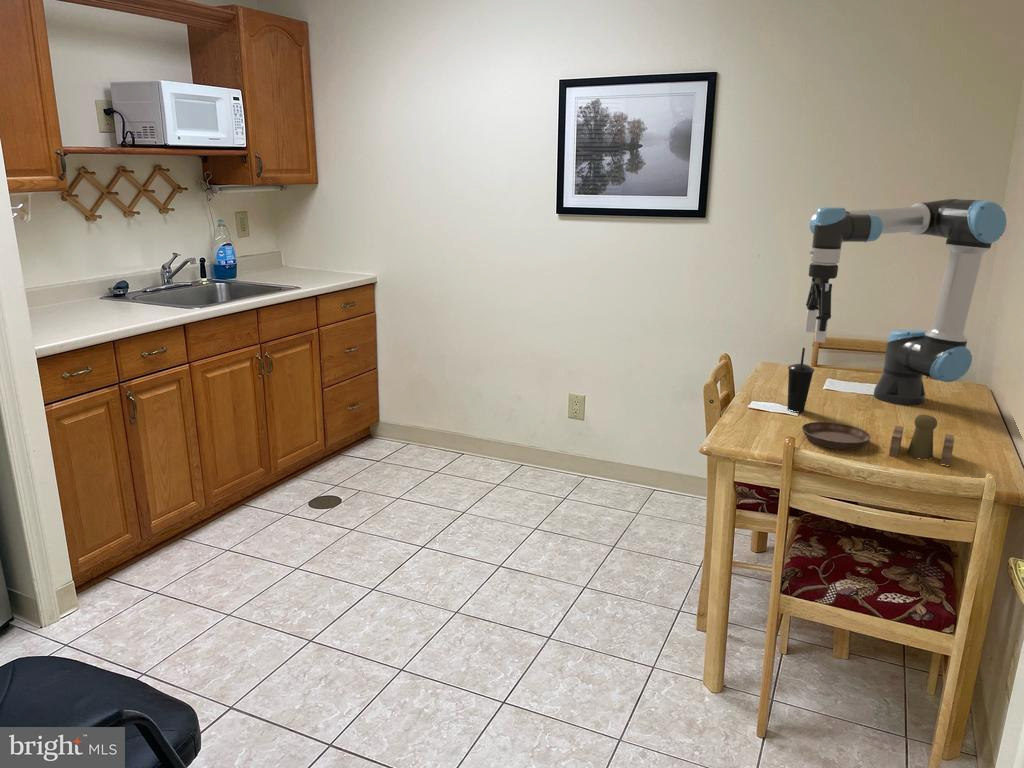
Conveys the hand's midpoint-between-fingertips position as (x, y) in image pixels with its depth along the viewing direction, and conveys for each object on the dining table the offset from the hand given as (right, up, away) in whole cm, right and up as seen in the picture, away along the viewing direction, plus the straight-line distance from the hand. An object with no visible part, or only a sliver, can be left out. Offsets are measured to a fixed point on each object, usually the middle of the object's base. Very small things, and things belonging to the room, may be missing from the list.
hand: (814, 336), depth 217 cm
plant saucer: (+2, -30, -9) cm, 31 cm away
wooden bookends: (+21, -33, -18) cm, 43 cm away
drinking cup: (+1, -22, +17) cm, 28 cm away
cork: (+20, -33, -18) cm, 43 cm away
